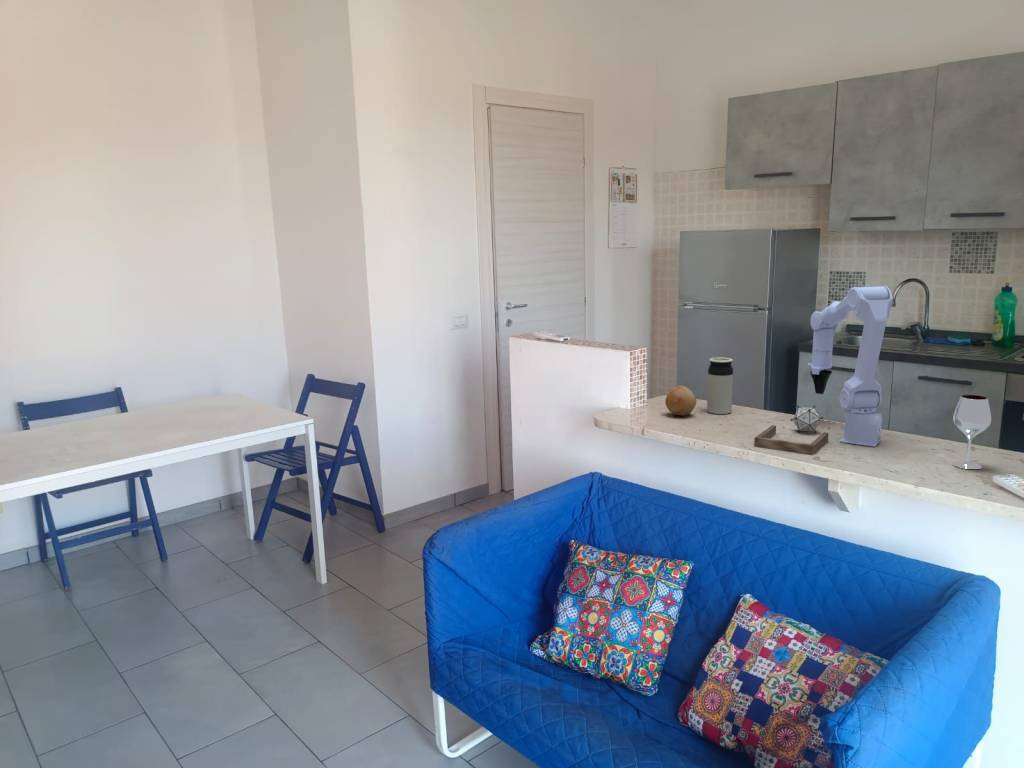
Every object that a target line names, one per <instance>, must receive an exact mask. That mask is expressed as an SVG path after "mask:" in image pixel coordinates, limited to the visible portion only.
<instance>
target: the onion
mask: <svg viewBox="0 0 1024 768" xmlns="http://www.w3.org/2000/svg"><path fill="white" fill-rule="evenodd" d="M664 402H665V406H666V408H667V410H668V411H669V412H670V413H671V414H673V415H675V416H683V417H684V416H688V415H689V414H690V413H692V412H693V411H694V410H695V407H696V405H697V398H696V395H695V394H694V393H693V391H692V390H691V389H690V388H688V387H687V386H684V385H676V386H675V387H673V388H672V389H671V390H670V391H669V392H668V393H667V395H666V398H665V401H664Z"/></svg>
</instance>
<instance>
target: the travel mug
mask: <svg viewBox="0 0 1024 768" xmlns="http://www.w3.org/2000/svg"><path fill="white" fill-rule="evenodd" d="M708 360H709V363H710V365H709V366H708V369H707V370H708V371H707V396H706V397H707V399H706V412H708V413H710V414H712V413H713V415H719V414H720V415H728V413H729V414H730V413H732V407H733V404H732V403H733V379H734V368H733V366H732V362H733V359H732V358H730V357H722V356H721V357H720V356H719V357H711V358H709V359H708Z"/></svg>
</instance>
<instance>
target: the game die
mask: <svg viewBox="0 0 1024 768" xmlns="http://www.w3.org/2000/svg"><path fill="white" fill-rule="evenodd" d="M796 407H797V409H796V411H795V414H794V415H793V418H790V421H791V422H792V421H793V423H794V425H795V426H796V428H797V429H798V431H797V434H799V433H800V432H813V433H815V434H817V431H816V429H817V427H818V426H819V423H820V421H821V420H824V417H821V416H820V415H819V414H818V412H817V410H816V409H815V408H816V405H813V407H808V406H805V407H802V406H801V407H800V406H799V405H798V404H797V405H796Z"/></svg>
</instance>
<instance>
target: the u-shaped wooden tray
mask: <svg viewBox="0 0 1024 768" xmlns="http://www.w3.org/2000/svg"><path fill="white" fill-rule="evenodd" d="M776 434H777V425H771V426H769V427H767V428H766V429H764V430H763V431H762V432H760V433H759V434H757V435H756V436H754V442H753V443H754V444H753V446H754V447H756V446H757V448H763V449H770V450H777V451H783V450H784V451H783V452H790V451H791V452H790V453H797V452H798V453H799V454H803V455H804V454H805V455H810V454H812V456H814V455H813V454H816V453H817V452H819V450H820V449H821V448H822V447H823V446H824V445H826V444H827V443H828V442H829V435H830V434H829V432H828V431H827V432H825V431H824V432H822V433H821V434H820V435H819V436H818V437H817V438H816V439H815V440H813V441H812V442H811V443H804V442H798V441H797V442H796V441H789V440H783V439H775V438H772V437H774V436H775V435H776ZM798 453H797V454H798Z"/></svg>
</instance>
